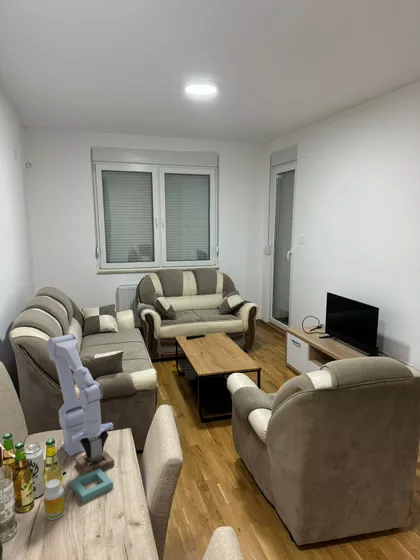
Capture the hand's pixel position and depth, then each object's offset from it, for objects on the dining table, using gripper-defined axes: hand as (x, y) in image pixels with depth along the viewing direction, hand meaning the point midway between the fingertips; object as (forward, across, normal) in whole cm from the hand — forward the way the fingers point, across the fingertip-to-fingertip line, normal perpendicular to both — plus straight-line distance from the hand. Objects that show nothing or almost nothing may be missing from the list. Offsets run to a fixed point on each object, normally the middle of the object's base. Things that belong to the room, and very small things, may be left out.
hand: (94, 454), depth 135 cm
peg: (+3, 0, 0) cm, 3 cm away
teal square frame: (+4, -6, -11) cm, 13 cm away
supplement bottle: (+4, -19, -15) cm, 25 cm away
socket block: (+4, 0, 0) cm, 4 cm away
